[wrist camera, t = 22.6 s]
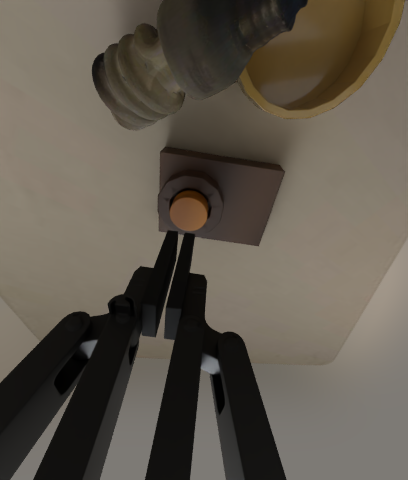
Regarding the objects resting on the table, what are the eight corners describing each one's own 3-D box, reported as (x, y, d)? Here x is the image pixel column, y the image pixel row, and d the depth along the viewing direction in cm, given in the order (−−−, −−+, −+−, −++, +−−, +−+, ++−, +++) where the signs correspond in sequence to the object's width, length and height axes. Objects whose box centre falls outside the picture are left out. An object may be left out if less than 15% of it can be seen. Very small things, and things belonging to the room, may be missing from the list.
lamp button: (210, 193, 21) (210, 200, 19) (205, 224, 23) (204, 233, 21) (173, 187, 21) (170, 194, 19) (171, 219, 23) (168, 228, 21)
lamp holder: (402, -54, 14) (457, -98, 11) (328, 123, 20) (349, 129, 17) (248, -83, 14) (257, -137, 11) (219, 105, 20) (219, 108, 16)
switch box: (279, 165, 22) (290, 177, 19) (256, 236, 28) (261, 255, 24) (165, 146, 22) (155, 156, 19) (162, 221, 27) (154, 240, 24)
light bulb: (311, 85, 11) (127, 148, 19) (319, 28, 13) (149, 107, 21) (289, -90, 7) (67, 87, 15) (306, -135, 9) (101, 43, 17)
